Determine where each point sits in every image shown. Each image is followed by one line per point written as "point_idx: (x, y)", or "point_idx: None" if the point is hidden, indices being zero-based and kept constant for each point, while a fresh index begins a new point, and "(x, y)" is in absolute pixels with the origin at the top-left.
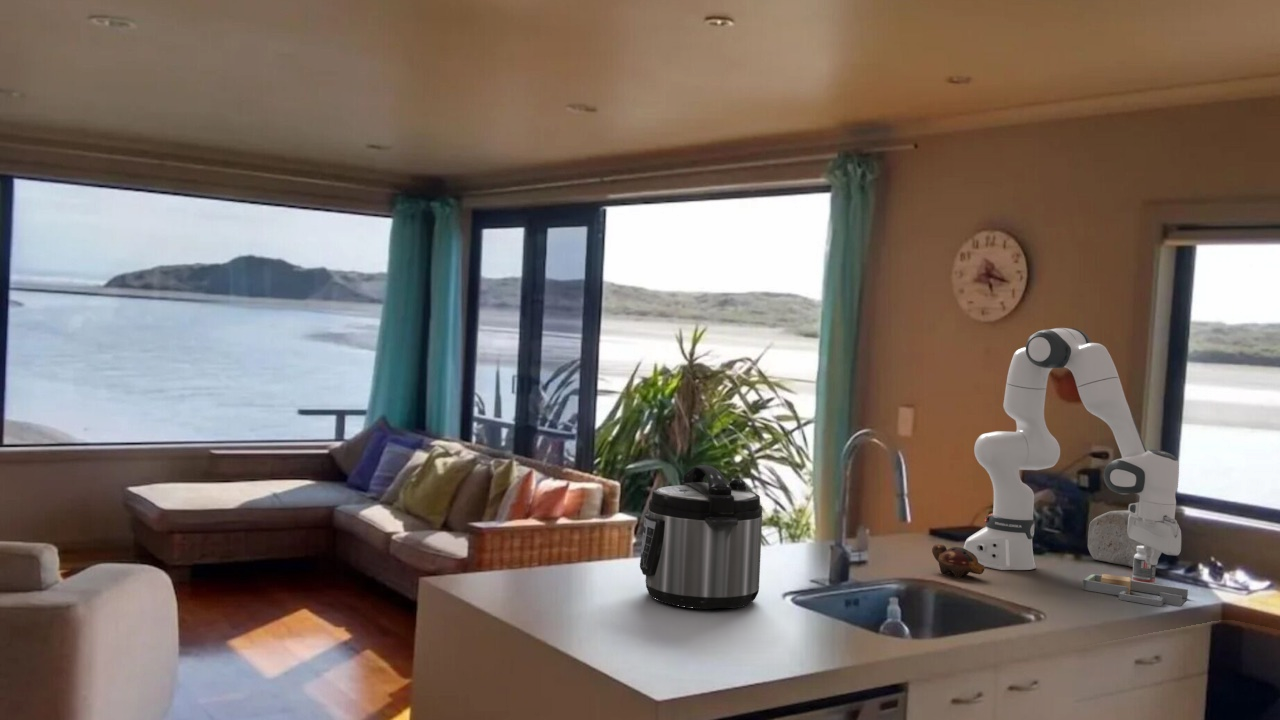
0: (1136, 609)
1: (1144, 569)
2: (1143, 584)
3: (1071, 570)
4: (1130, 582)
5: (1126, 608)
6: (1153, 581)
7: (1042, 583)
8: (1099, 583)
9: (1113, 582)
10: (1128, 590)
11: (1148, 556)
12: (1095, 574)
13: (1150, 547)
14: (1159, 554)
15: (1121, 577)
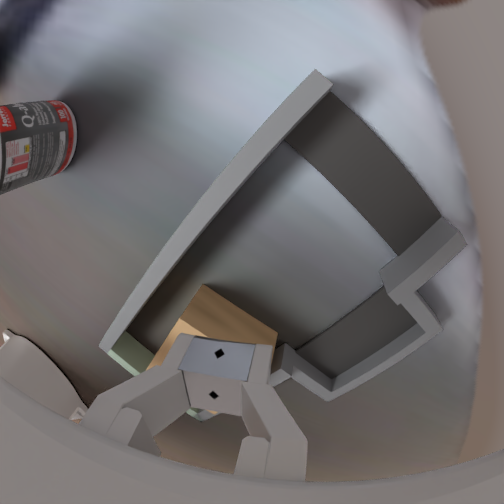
0: (434, 393)
1: (33, 161)
2: (188, 246)
3: (15, 281)
4: (208, 322)
5: (417, 408)
6: (66, 111)
7: (170, 427)
8: None
9: None
10: (273, 348)
11: (200, 405)
12: (103, 344)
13: (146, 449)
14: (296, 433)
15: None
